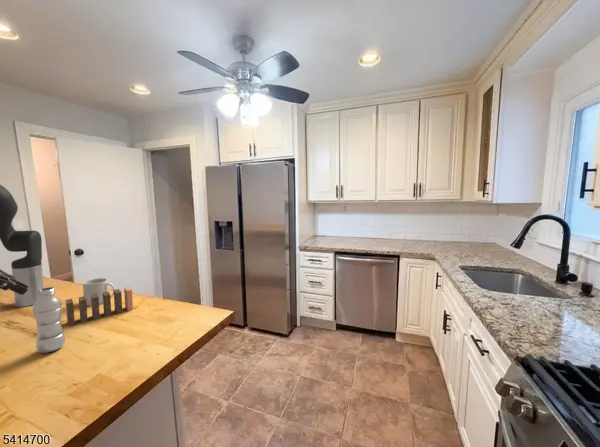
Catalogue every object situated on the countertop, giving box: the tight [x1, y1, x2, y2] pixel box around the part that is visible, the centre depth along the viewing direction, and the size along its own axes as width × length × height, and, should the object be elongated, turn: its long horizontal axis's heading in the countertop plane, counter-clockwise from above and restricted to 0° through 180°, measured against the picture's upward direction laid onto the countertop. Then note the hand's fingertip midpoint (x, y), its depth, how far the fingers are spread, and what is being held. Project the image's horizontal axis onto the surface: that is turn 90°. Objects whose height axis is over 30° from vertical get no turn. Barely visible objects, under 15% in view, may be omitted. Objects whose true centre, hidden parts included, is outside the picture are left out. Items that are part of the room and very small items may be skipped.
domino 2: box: [78, 295, 89, 324], centre depth 100 cm, size 2×5×9 cm, turn 46°
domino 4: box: [102, 290, 112, 318], centre depth 106 cm, size 2×5×9 cm, turn 46°
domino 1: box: [65, 298, 76, 328], centre depth 97 cm, size 2×5×9 cm, turn 46°
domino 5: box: [113, 288, 123, 315], centre depth 108 cm, size 2×5×9 cm, turn 46°
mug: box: [82, 277, 117, 307], centre depth 118 cm, size 11×10×10 cm
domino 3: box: [91, 294, 101, 321], centre depth 103 cm, size 2×5×9 cm, turn 46°
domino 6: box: [123, 286, 134, 312], centre depth 111 cm, size 2×5×9 cm, turn 46°
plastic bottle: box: [32, 286, 66, 354], centre depth 80 cm, size 6×7×20 cm
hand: (25, 290), depth 88 cm, fingers open, 3 cm apart
